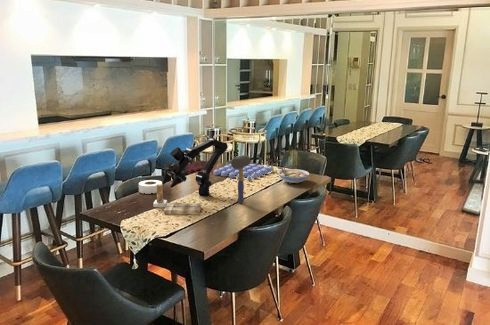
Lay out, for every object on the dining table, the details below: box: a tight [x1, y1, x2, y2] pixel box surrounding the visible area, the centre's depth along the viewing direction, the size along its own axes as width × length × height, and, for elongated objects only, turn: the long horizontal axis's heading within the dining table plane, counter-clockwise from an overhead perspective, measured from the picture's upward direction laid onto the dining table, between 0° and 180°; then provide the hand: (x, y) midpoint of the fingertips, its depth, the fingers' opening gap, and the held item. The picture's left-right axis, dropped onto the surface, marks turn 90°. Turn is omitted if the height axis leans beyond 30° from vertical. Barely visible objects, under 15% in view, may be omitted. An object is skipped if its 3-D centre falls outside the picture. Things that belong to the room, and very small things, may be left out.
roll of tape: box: [138, 179, 163, 195], centre depth 273 cm, size 16×16×6 cm
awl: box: [156, 184, 165, 203], centre depth 242 cm, size 4×4×13 cm
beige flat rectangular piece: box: [163, 202, 202, 215], centre depth 234 cm, size 20×12×3 cm, turn 91°
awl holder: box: [152, 199, 168, 208], centre depth 243 cm, size 7×7×2 cm
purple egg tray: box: [212, 163, 273, 181], centre depth 317 cm, size 35×34×5 cm
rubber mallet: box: [230, 154, 251, 204], centre depth 245 cm, size 12×8×30 cm, turn 146°
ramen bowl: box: [277, 167, 310, 184], centre depth 293 cm, size 25×23×8 cm
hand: (166, 185), depth 244 cm, fingers open, 9 cm apart
